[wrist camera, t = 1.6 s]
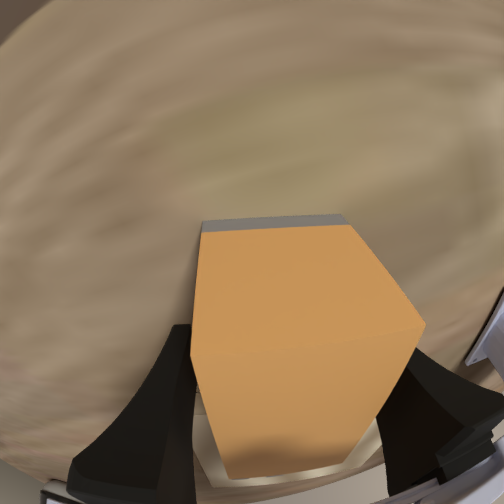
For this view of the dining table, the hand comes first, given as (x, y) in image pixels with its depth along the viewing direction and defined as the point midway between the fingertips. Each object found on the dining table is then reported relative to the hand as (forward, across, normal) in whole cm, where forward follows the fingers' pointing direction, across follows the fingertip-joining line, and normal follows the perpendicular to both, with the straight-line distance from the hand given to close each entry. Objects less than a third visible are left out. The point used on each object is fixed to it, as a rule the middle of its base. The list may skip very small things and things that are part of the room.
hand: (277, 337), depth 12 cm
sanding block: (+2, 0, 0) cm, 2 cm away
